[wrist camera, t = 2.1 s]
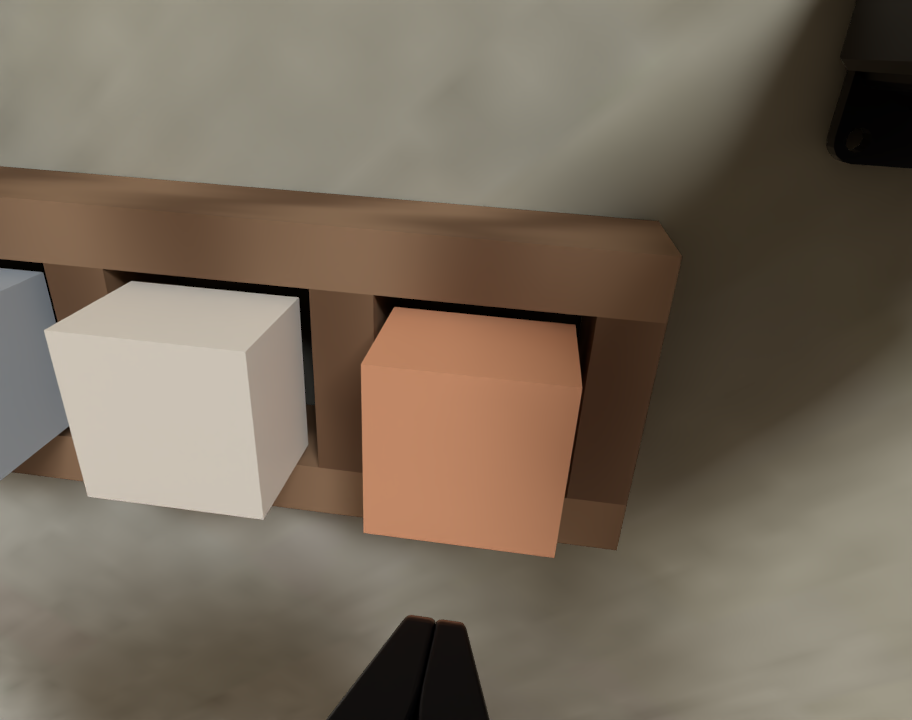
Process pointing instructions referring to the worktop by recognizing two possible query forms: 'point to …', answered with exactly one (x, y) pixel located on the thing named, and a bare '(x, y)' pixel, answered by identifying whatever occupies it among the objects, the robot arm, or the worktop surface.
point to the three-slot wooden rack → (369, 300)
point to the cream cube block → (184, 396)
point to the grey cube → (26, 369)
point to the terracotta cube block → (469, 429)
